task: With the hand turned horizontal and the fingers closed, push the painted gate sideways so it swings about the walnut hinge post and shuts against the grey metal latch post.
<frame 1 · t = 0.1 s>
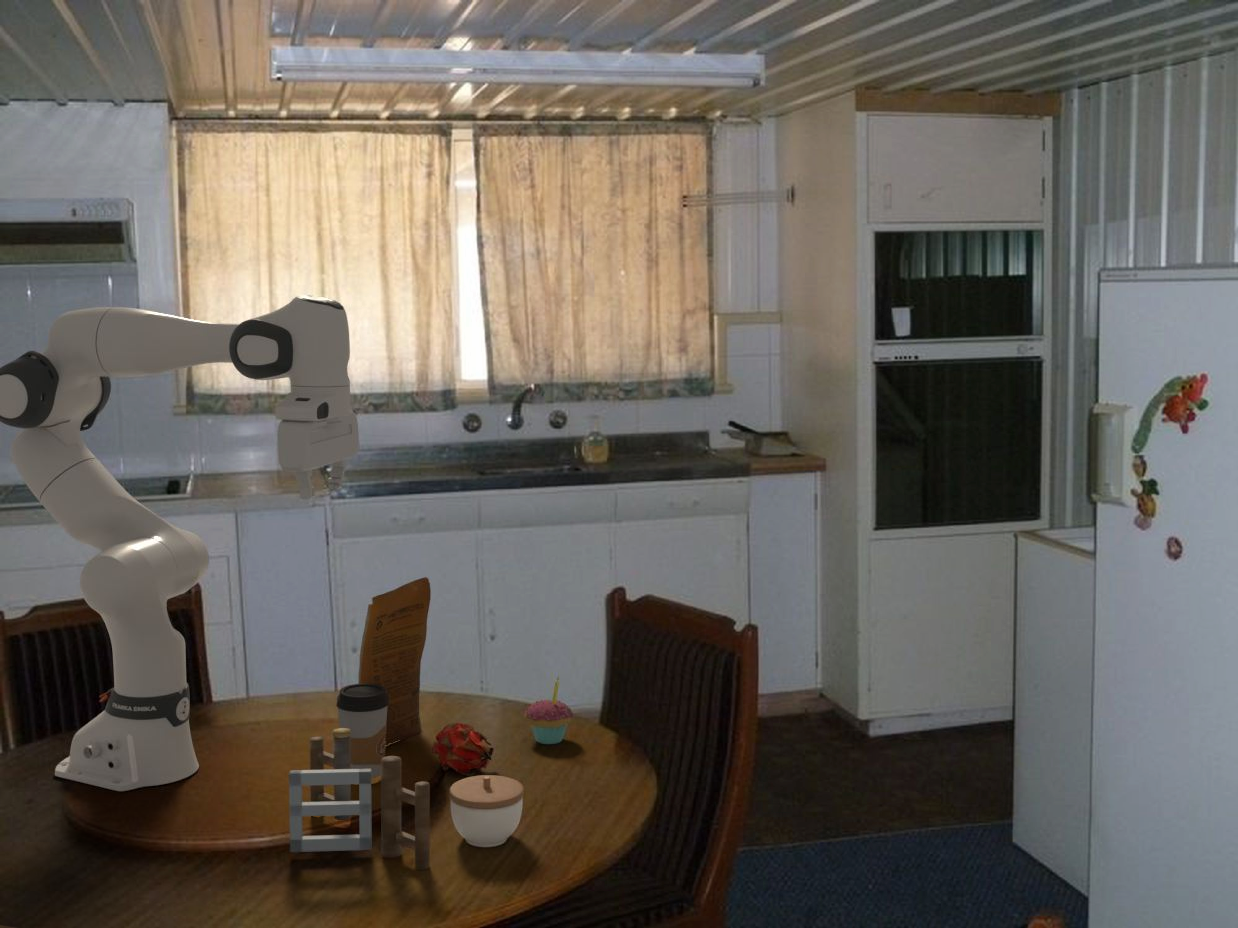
hand: (321, 493, 208), 48 cm above the table, tool pointing down, fingers open, 8 cm apart
lidded jar: (486, 839, 199), on the table
dragon fruit: (464, 770, 226), on the table
coffee cup: (363, 780, 221), on the table
gate: (330, 810, 191), point 7 cm above the table, hinge at 45.0°
pancake mix bag: (393, 740, 240), on the table
cupcake: (548, 740, 241), on the table
fence: (391, 853, 193), on the table
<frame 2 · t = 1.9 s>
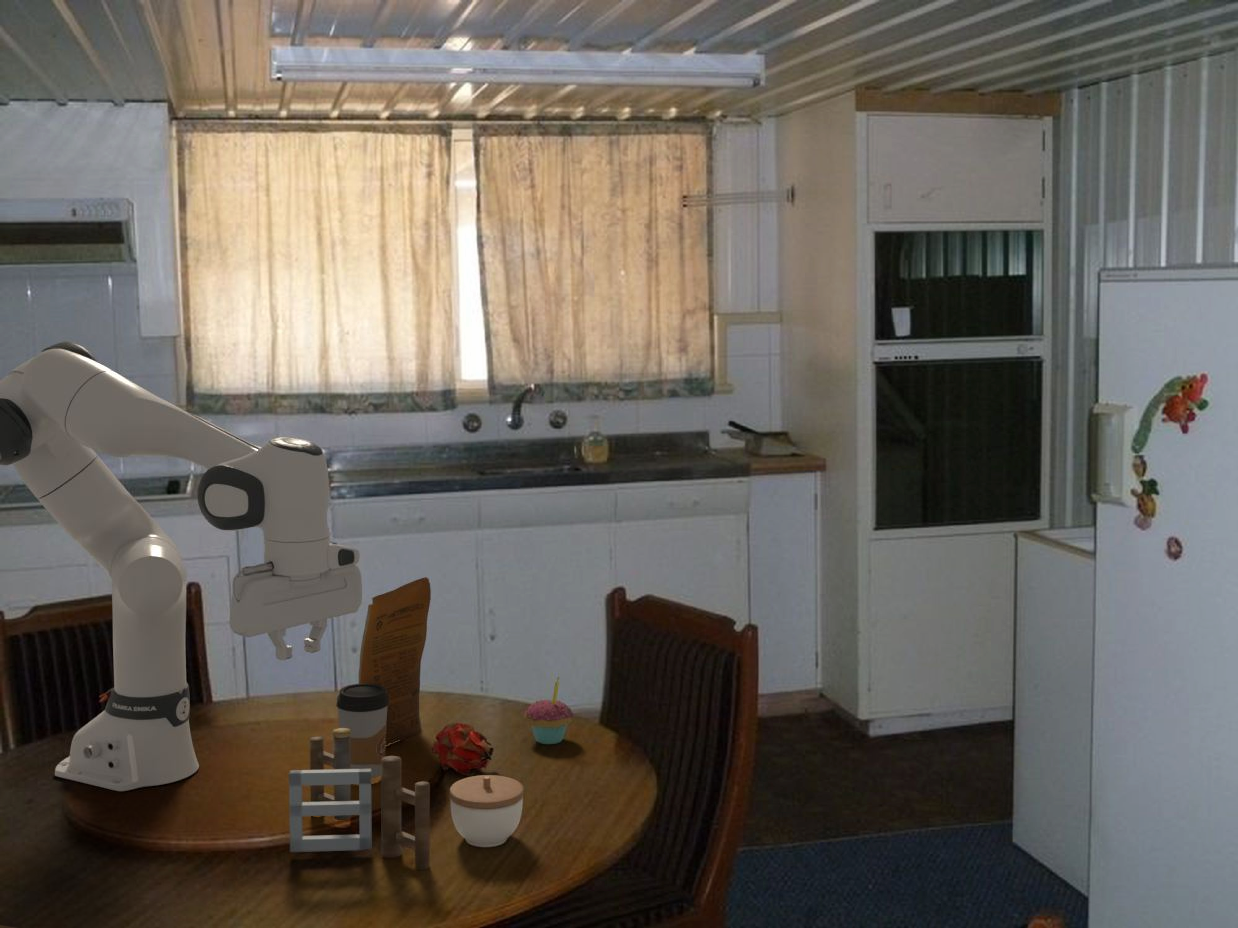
hand: (298, 655, 188), 29 cm above the table, tool pointing down, fingers open, 3 cm apart
nothing on the table moved.
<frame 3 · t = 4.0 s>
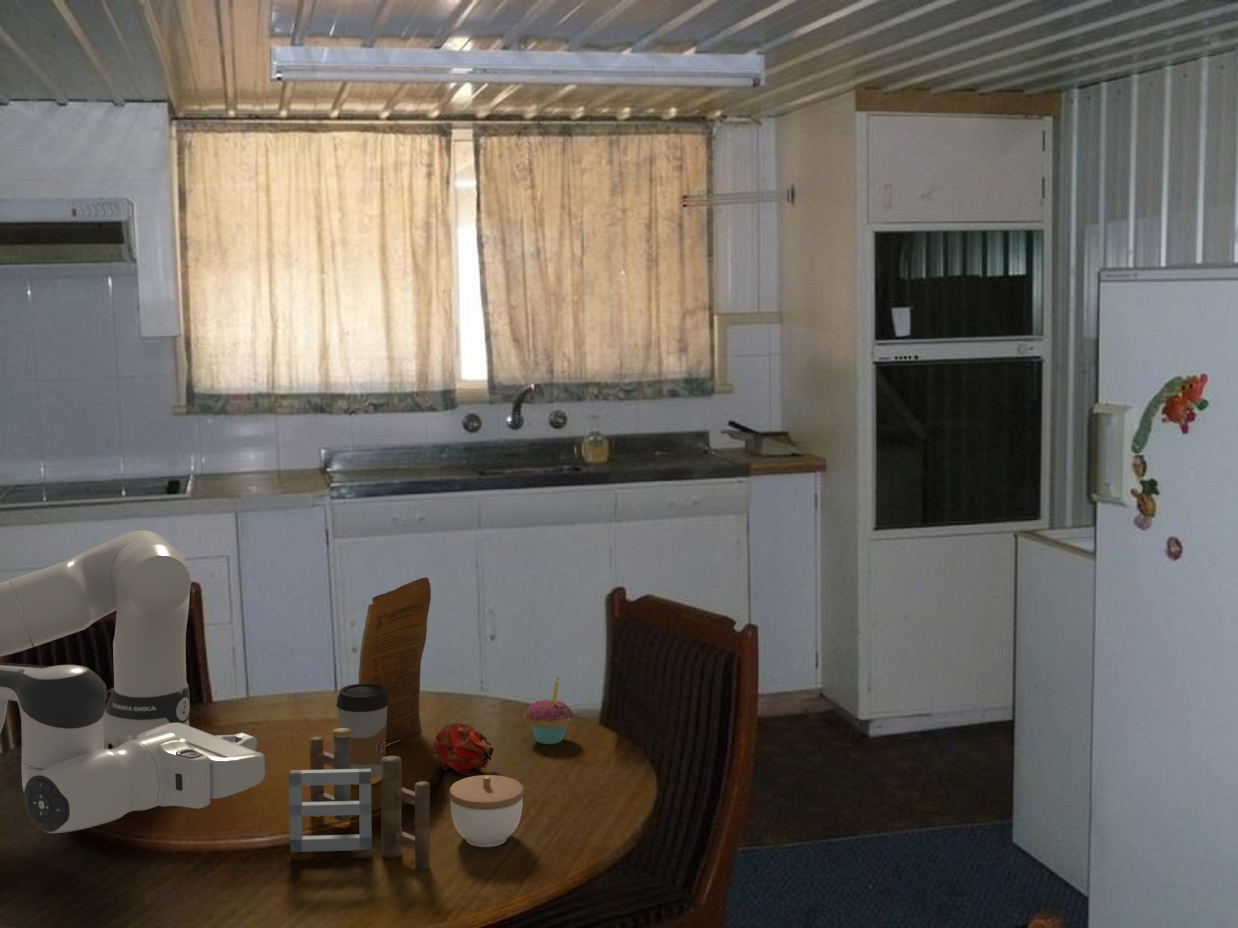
hand: (250, 740, 183), 19 cm above the table, tool horizontal, fingers closed
nothing on the table moved.
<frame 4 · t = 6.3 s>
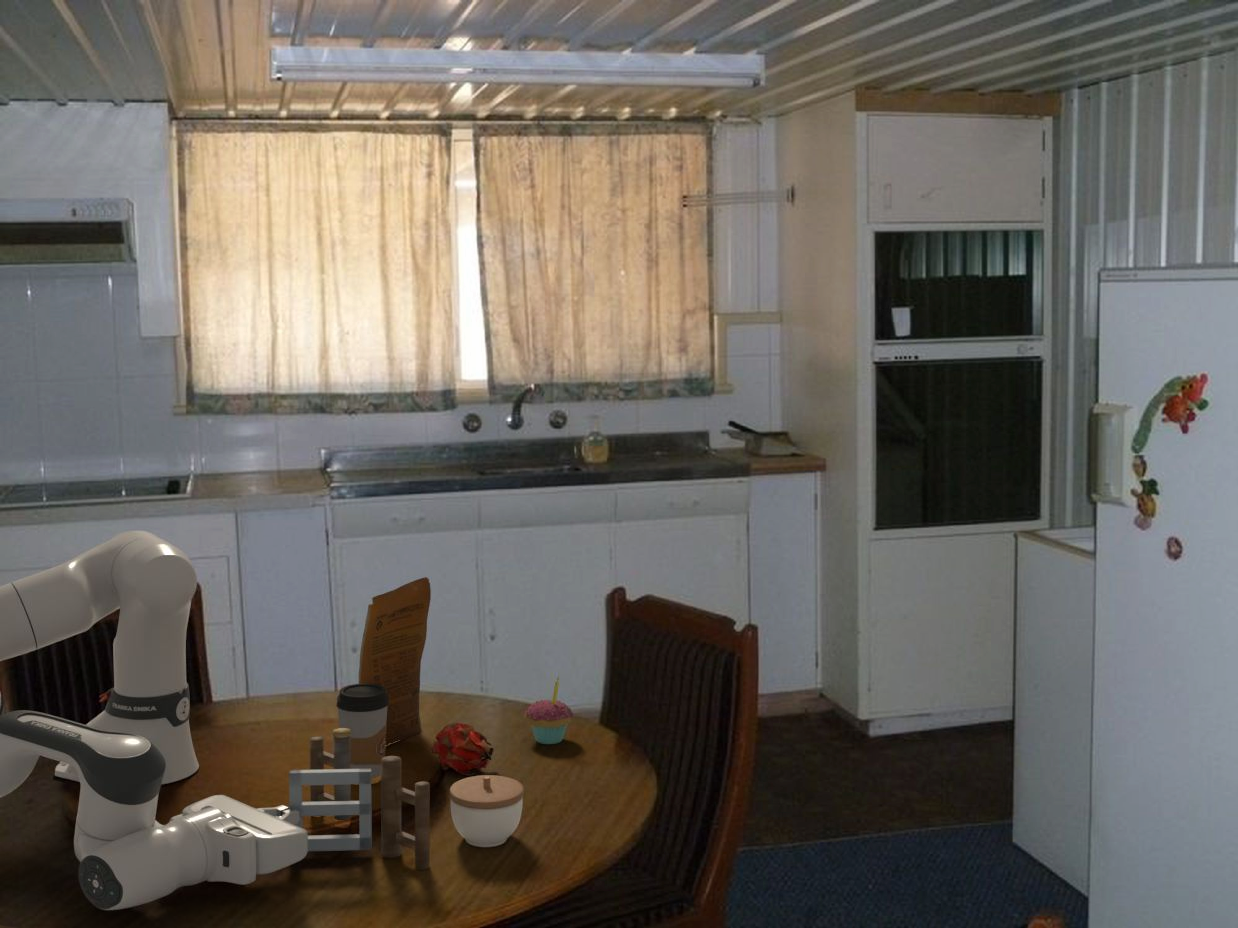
hand: (292, 813, 189), 7 cm above the table, tool horizontal, fingers closed
gate: (330, 809, 191), point 7 cm above the table, hinge at 44.6°, touching gripper
everything else where it was.
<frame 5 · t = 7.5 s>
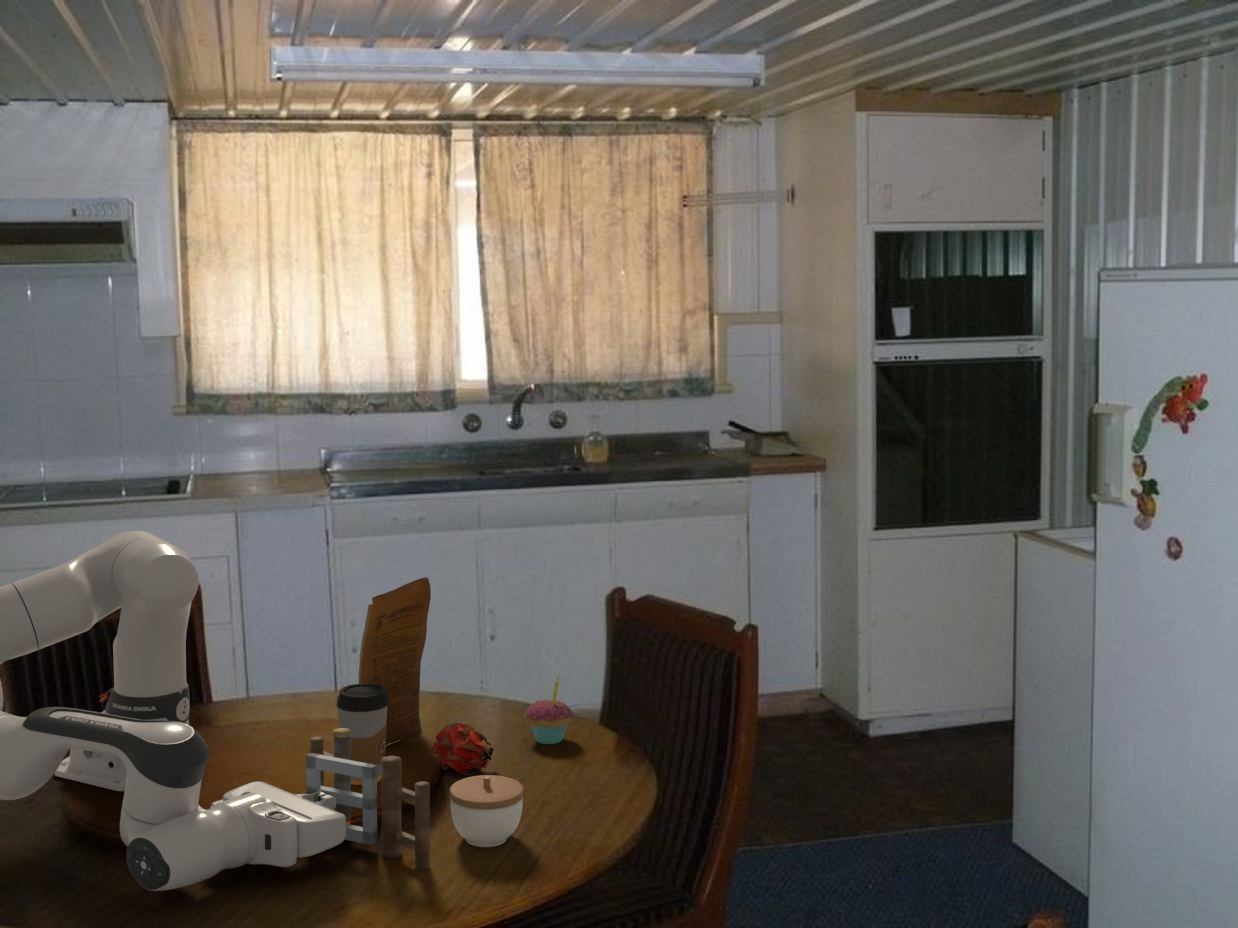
hand: (328, 799, 195), 7 cm above the table, tool horizontal, fingers closed
gate: (341, 798, 195), point 7 cm above the table, hinge at 15.2°, touching gripper
everything else where it was.
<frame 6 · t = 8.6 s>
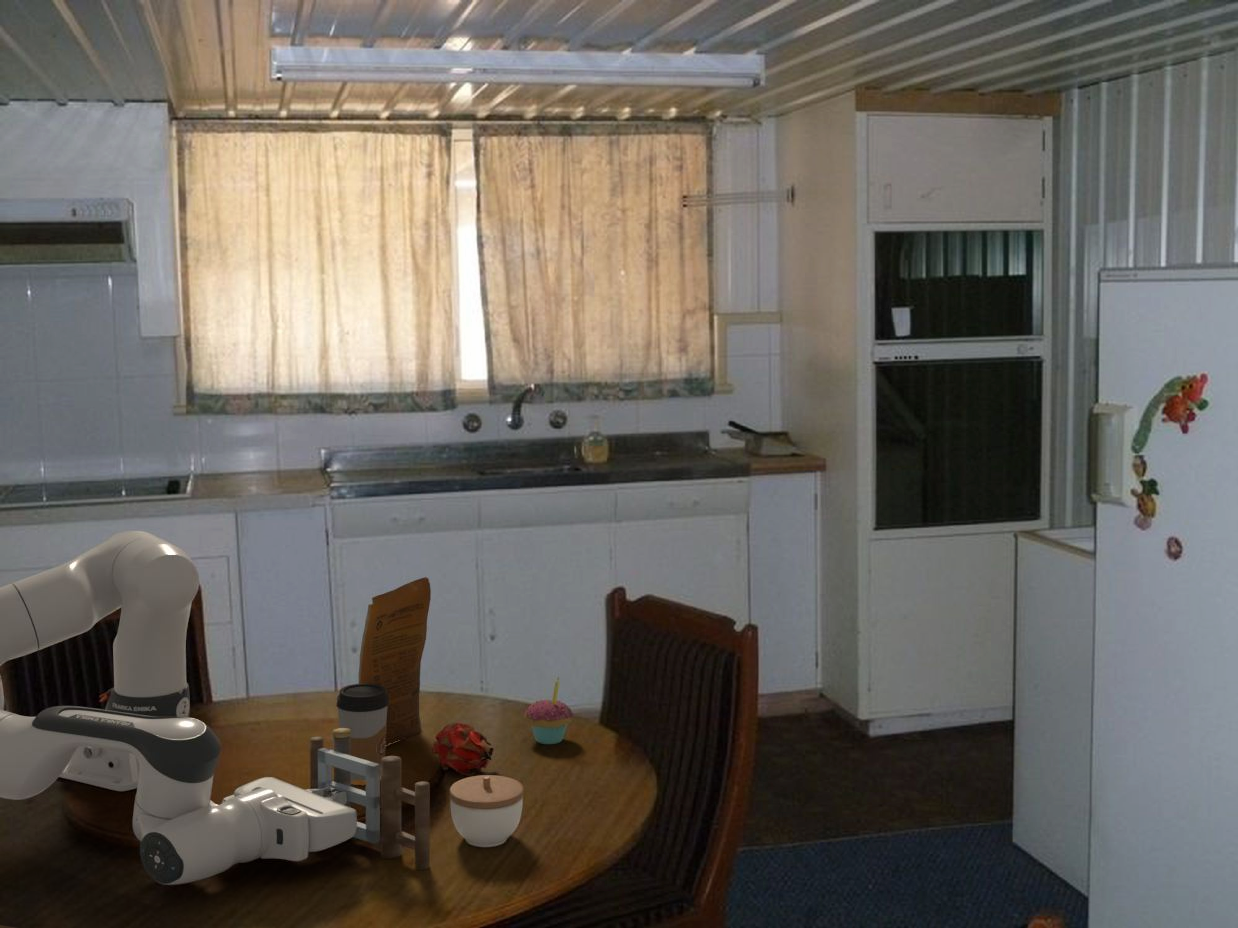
hand: (338, 794, 197), 7 cm above the table, tool horizontal, fingers closed
gate: (348, 794, 197), point 7 cm above the table, hinge at 4.5°, touching gripper
everything else where it was.
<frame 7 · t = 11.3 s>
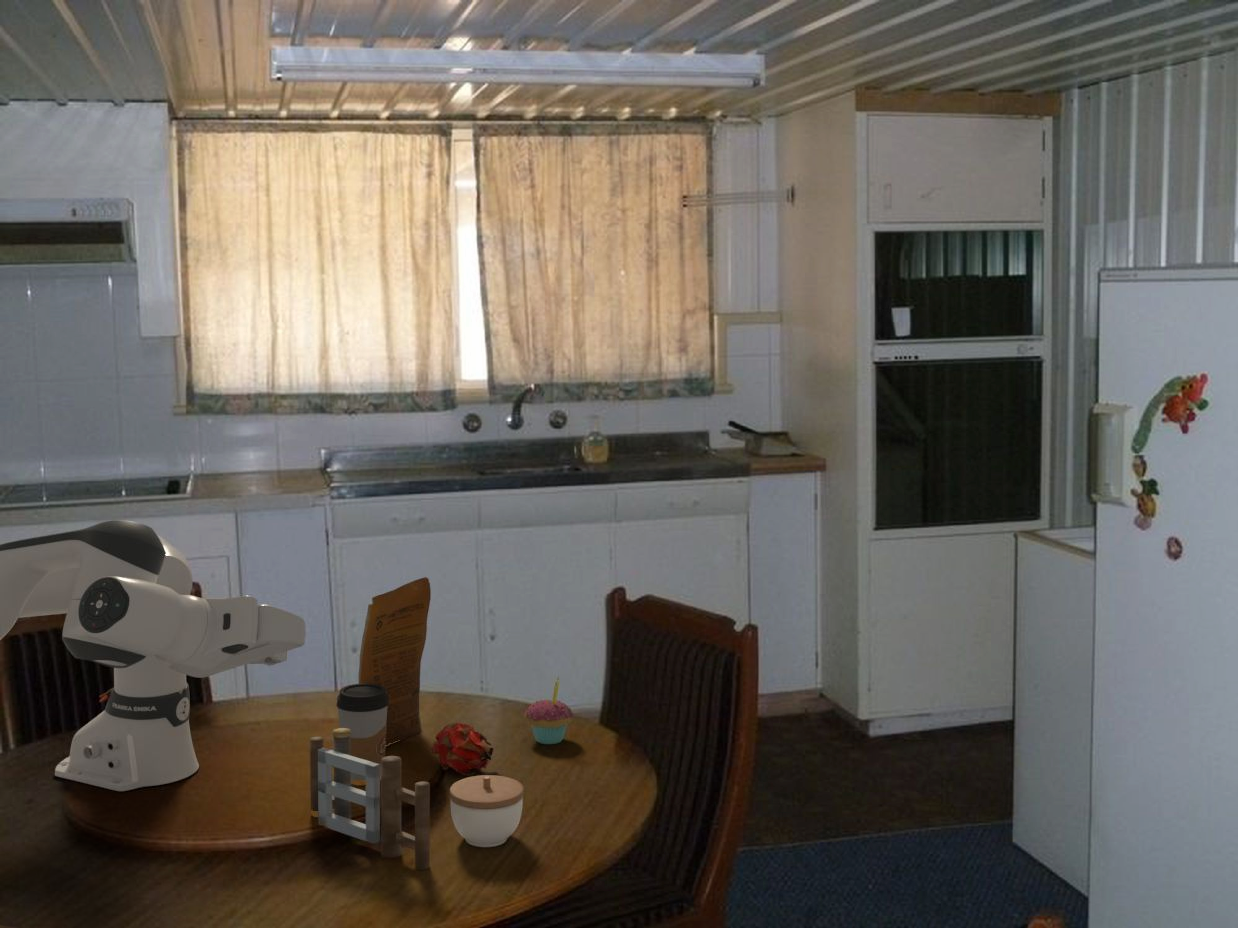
hand: (279, 657, 186), 29 cm above the table, tool tilted 65°, fingers closed
gate: (348, 794, 197), point 7 cm above the table, hinge at 4.4°
everything else where it was.
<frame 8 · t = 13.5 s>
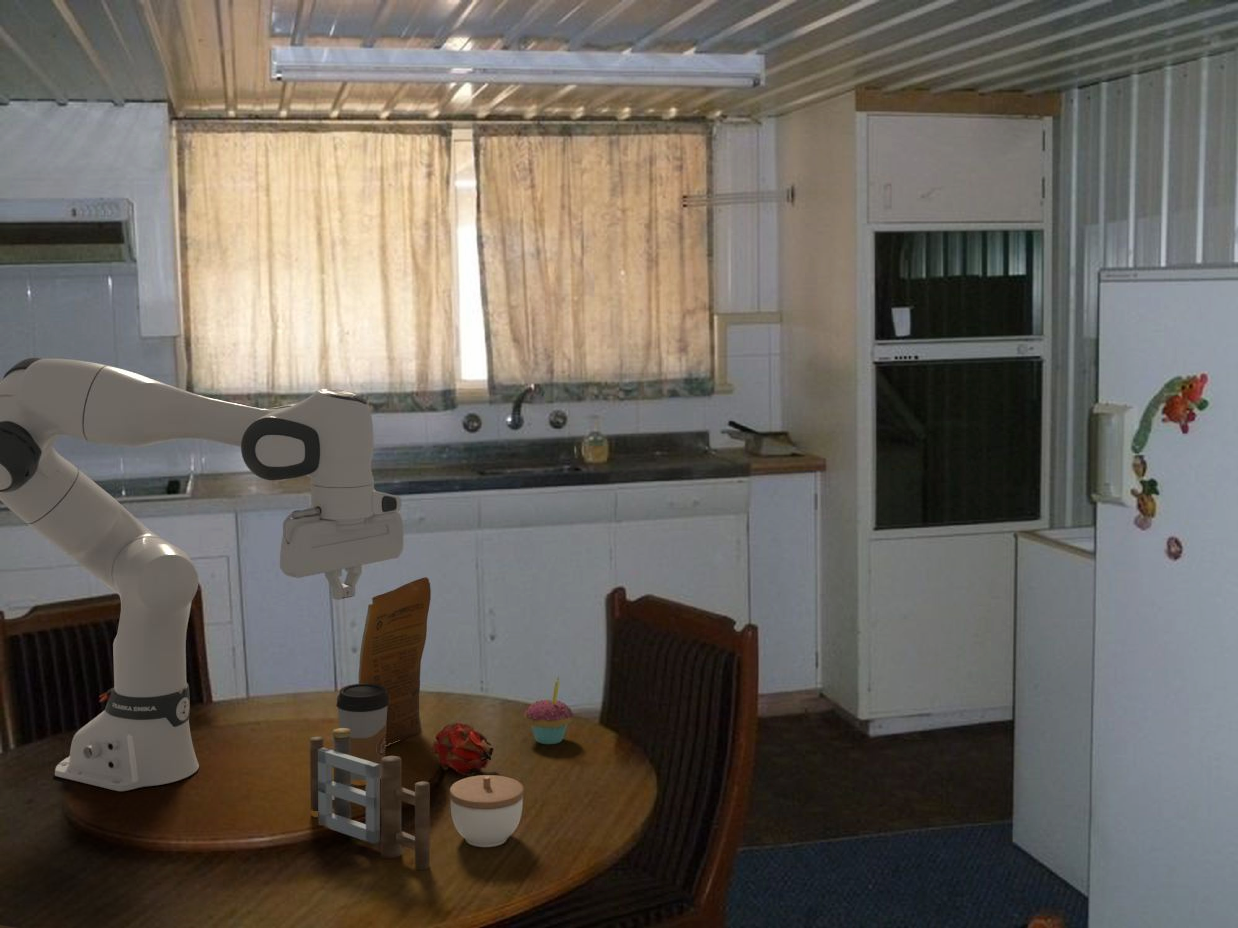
hand: (343, 597, 196), 35 cm above the table, tool pointing down, fingers closed
nothing on the table moved.
at the end: gate at +4° (first picture: +45°); gate touching nothing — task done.
